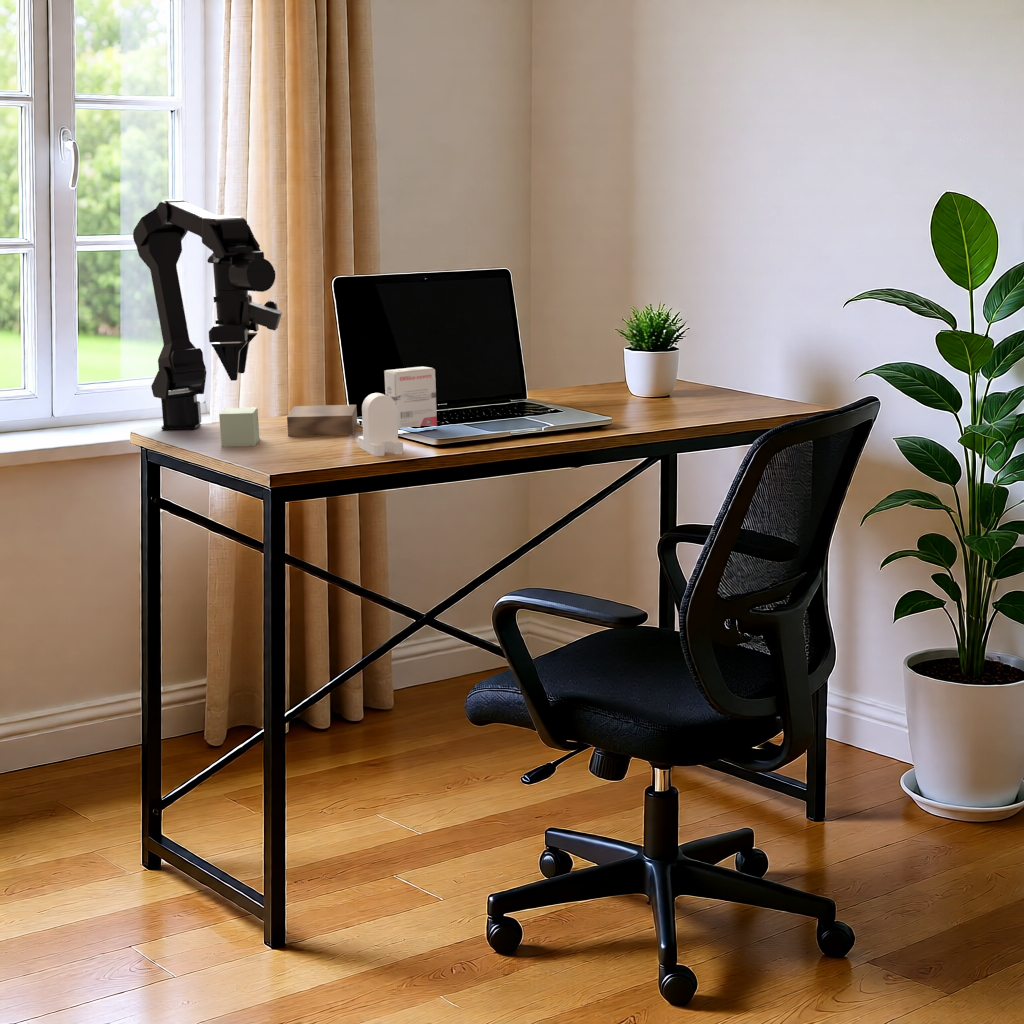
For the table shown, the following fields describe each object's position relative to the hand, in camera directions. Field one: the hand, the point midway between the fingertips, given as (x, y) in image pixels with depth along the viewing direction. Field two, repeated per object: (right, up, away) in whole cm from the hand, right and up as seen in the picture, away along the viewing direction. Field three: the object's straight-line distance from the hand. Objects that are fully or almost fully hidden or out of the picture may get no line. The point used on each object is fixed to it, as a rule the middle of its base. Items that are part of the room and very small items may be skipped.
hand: (237, 376), depth 251 cm
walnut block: (+14, -9, +14) cm, 22 cm away
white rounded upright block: (+26, -14, -6) cm, 30 cm away
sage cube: (0, -12, +3) cm, 12 cm away
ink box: (+31, -9, +11) cm, 34 cm away
